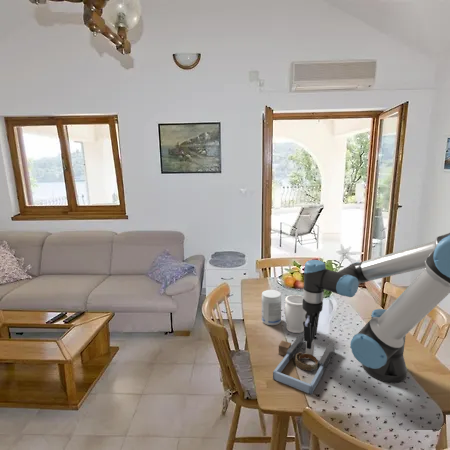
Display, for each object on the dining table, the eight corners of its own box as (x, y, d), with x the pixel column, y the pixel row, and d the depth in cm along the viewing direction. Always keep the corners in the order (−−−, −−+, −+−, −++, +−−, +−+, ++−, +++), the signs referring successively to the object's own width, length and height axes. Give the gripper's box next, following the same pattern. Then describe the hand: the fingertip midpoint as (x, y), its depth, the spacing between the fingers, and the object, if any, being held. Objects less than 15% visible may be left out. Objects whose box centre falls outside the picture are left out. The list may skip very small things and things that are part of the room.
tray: (286, 360, 126) (286, 353, 126) (322, 373, 119) (323, 366, 118) (272, 379, 116) (273, 371, 115) (311, 394, 108) (312, 386, 108)
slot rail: (300, 341, 140) (301, 332, 139) (334, 351, 132) (334, 342, 131) (286, 360, 127) (286, 351, 126) (322, 373, 119) (323, 363, 118)
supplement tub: (283, 319, 158) (284, 292, 155) (276, 328, 150) (277, 299, 147) (265, 314, 163) (266, 288, 160) (258, 322, 155) (258, 294, 152)
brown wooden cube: (290, 351, 132) (291, 343, 131) (287, 356, 129) (288, 348, 128) (281, 349, 134) (281, 340, 133) (278, 354, 131) (278, 345, 130)
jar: (307, 335, 144) (308, 305, 141) (283, 333, 146) (284, 303, 143) (306, 324, 154) (307, 295, 151) (284, 322, 156) (285, 293, 153)
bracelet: (290, 360, 127) (291, 353, 126) (309, 355, 130) (309, 349, 129) (302, 373, 119) (303, 366, 118) (322, 368, 122) (322, 361, 121)
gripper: (309, 291, 130) (306, 343, 135) (297, 303, 120) (294, 359, 125) (327, 296, 126) (323, 349, 131) (316, 308, 116) (313, 366, 121)
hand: (309, 353), depth 128 cm, fingers closed
